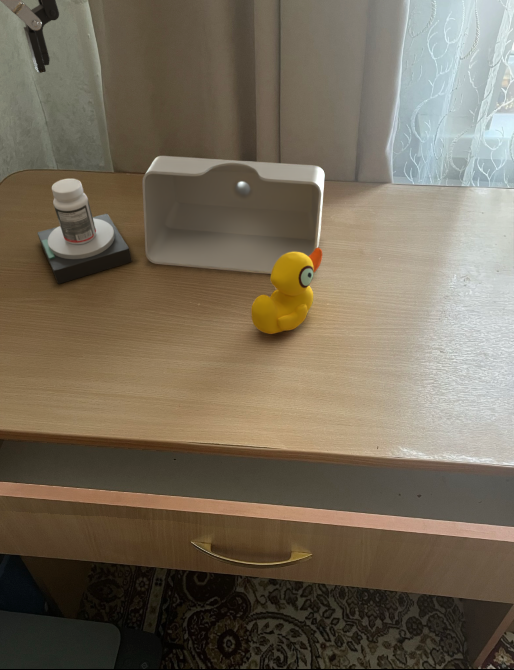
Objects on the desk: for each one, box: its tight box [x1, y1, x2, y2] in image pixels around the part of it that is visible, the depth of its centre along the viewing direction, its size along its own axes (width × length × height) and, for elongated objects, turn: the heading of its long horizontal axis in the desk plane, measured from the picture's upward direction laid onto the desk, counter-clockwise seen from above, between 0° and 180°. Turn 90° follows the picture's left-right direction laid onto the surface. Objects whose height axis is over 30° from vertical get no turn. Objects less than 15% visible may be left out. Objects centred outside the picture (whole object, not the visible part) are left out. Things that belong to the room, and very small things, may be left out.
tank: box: [142, 155, 325, 275], centre depth 82 cm, size 25×16×12 cm, turn 80°
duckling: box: [250, 247, 323, 335], centre depth 69 cm, size 11×5×10 cm, turn 133°
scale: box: [36, 213, 133, 285], centre depth 83 cm, size 11×11×3 cm
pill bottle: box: [51, 178, 96, 244], centre depth 79 cm, size 5×5×8 cm
